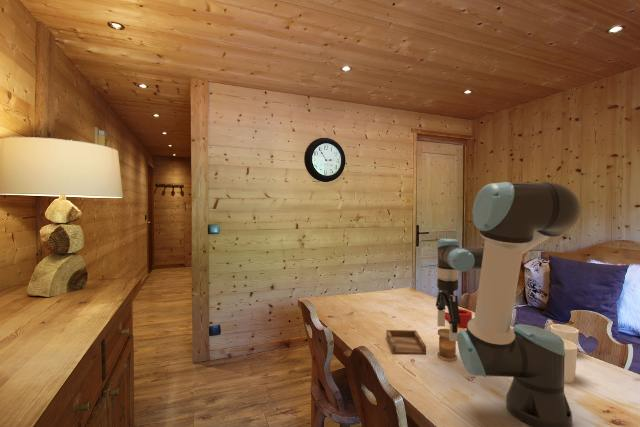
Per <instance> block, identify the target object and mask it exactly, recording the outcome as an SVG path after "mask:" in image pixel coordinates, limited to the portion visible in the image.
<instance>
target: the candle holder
mask: <svg viewBox="0 0 640 427" xmlns="http://www.w3.org/2000/svg"><path fill="white" fill-rule="evenodd" d="M562 340H563V342H564V348H565V358H564V383H567V384H568V383H569V384H570V383H573V382H575V380H576V379H575V378H576V368H577V357H578V349H579V348H578V347H579V345H578V346H577V345H576V344H574V343H573V342H570V341H568V340H564V339H562Z"/></svg>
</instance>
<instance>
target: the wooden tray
mask: <svg viewBox="0 0 640 427" xmlns="http://www.w3.org/2000/svg"><path fill="white" fill-rule="evenodd" d="M385 337H386V341H387V342H388V345H389V347H390V351H391V353H392V354H393V355H419V356H420V355H422V356H423V355H427V345H426V344H425V342H424V340H423V339H422V337H421V336H420V334H419V333H418V331H417V330H414V329H413V330H408V329H406V330H405V329H404V330H403V329H386V334H385Z"/></svg>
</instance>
